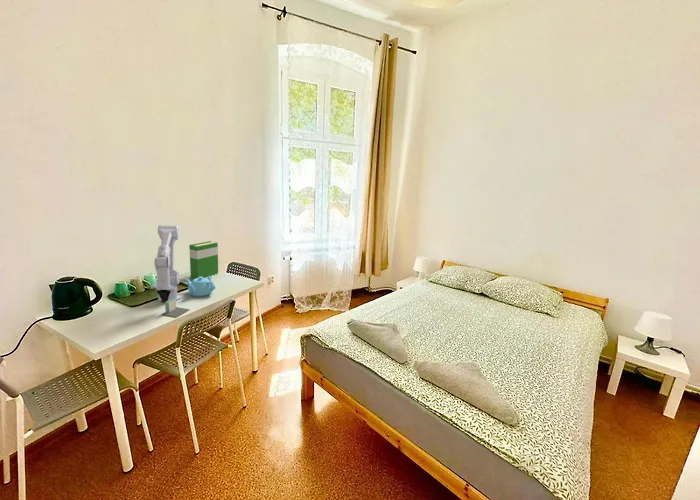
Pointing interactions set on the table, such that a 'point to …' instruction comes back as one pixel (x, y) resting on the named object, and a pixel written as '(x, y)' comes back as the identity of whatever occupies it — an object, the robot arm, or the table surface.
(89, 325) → the table surface
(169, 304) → the teal tile
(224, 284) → the table surface
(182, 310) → the charcoal mat
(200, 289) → the teapot
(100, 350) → the table surface
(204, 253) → the hardback book
